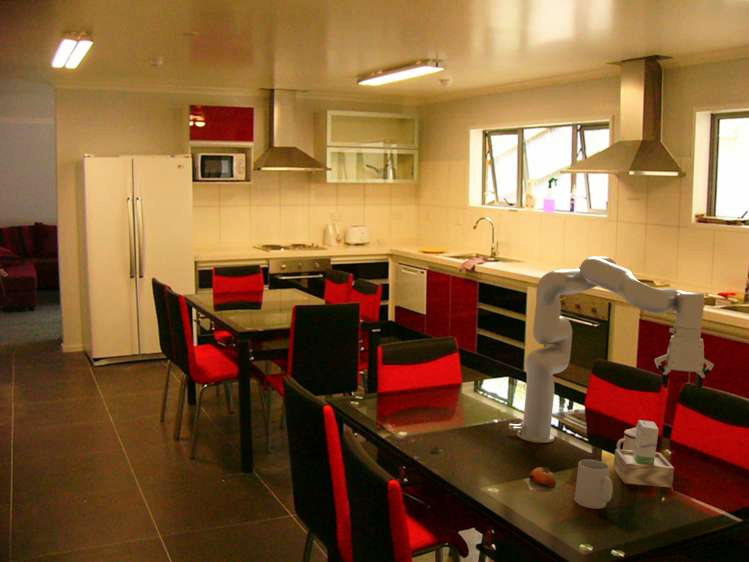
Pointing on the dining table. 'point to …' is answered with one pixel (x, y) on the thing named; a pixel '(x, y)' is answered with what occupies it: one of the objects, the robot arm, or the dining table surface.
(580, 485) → the mug
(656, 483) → the tray
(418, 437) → the dining table surface
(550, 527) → the dining table surface
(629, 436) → the teacup with lid
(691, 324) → the robot arm
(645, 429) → the ink box
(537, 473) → the tomato
